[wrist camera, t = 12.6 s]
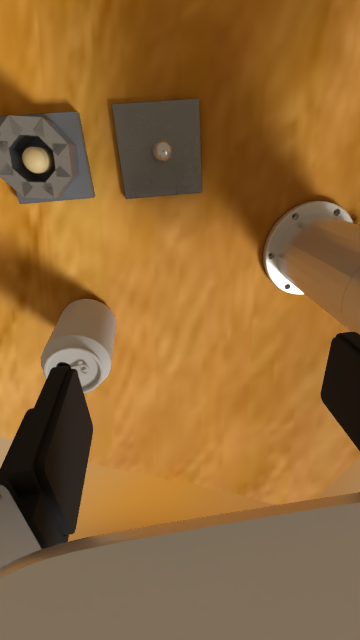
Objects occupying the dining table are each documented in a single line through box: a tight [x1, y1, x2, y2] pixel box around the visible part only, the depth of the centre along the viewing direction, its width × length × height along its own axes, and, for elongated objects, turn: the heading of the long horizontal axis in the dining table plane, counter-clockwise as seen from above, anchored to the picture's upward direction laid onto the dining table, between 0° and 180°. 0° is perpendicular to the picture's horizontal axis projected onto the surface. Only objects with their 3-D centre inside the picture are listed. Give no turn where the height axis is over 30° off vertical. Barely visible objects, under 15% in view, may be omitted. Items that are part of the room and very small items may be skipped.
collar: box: [0, 115, 80, 199], centre depth 29 cm, size 7×7×4 cm
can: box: [41, 299, 116, 393], centre depth 37 cm, size 8×8×12 cm
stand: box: [112, 99, 202, 199], centre depth 31 cm, size 9×9×6 cm
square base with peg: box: [0, 111, 95, 204], centre depth 30 cm, size 8×8×6 cm
